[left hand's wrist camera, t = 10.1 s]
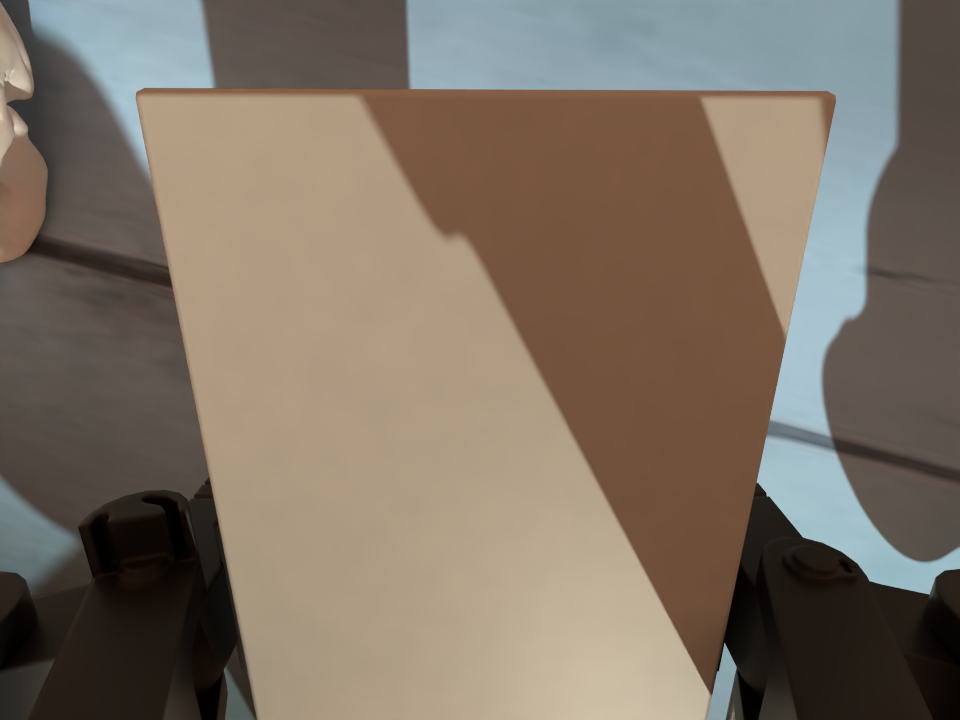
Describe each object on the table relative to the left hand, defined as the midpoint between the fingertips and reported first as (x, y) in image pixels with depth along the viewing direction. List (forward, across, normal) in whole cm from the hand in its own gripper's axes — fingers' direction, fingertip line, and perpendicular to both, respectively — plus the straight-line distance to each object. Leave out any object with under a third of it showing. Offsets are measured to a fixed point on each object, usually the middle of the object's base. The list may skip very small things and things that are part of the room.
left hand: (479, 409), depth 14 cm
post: (+1, 0, -32) cm, 32 cm away
